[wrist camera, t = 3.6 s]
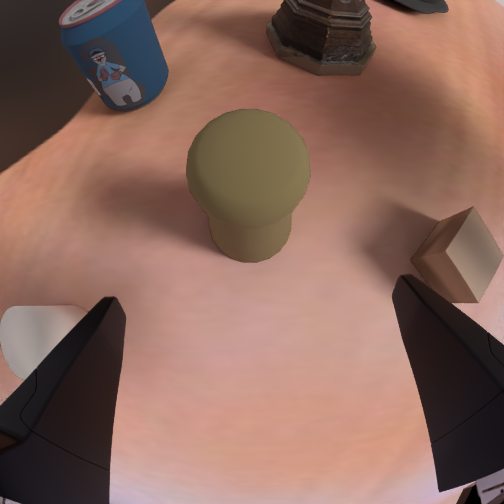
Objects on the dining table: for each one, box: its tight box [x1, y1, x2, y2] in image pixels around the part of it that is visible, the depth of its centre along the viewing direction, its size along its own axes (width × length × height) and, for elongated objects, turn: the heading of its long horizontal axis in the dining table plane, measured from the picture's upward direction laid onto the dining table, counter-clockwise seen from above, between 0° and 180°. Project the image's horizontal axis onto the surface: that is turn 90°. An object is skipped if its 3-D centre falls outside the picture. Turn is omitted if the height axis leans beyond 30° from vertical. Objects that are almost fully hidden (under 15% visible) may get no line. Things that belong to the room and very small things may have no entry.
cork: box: [186, 109, 311, 263], centre depth 15 cm, size 6×6×11 cm
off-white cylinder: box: [0, 305, 88, 381], centre depth 16 cm, size 5×5×7 cm
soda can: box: [59, 0, 168, 111], centre depth 17 cm, size 7×7×12 cm
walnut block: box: [410, 206, 504, 303], centre depth 18 cm, size 5×5×5 cm
